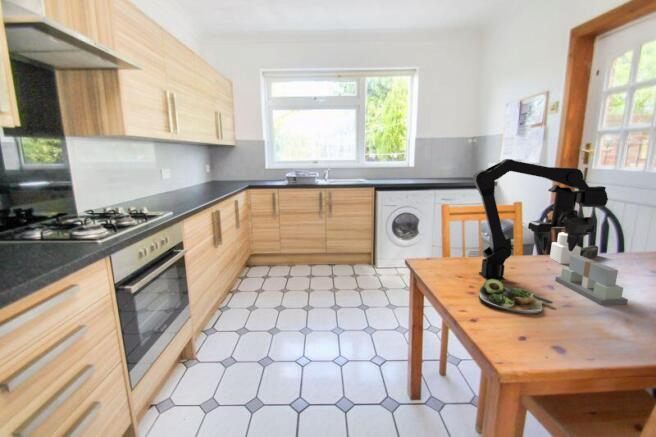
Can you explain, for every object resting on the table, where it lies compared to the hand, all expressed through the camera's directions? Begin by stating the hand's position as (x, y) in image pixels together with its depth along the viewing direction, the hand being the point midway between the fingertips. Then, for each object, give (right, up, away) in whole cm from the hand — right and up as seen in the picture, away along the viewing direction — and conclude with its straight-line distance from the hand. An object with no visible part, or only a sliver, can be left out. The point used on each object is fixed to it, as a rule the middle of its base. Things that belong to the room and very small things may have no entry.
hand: (556, 251), depth 106 cm
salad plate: (-23, -15, -10) cm, 29 cm away
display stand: (+6, -13, -5) cm, 15 cm away
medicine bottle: (+19, -7, +22) cm, 30 cm away
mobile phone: (+31, -6, +25) cm, 41 cm away
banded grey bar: (+6, -8, -7) cm, 12 cm away
